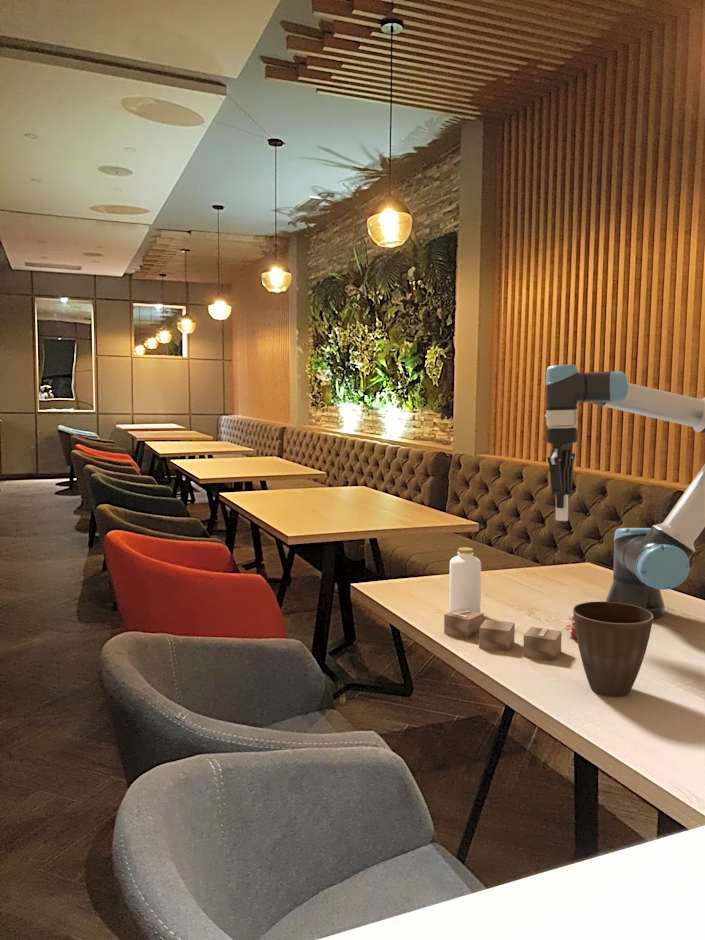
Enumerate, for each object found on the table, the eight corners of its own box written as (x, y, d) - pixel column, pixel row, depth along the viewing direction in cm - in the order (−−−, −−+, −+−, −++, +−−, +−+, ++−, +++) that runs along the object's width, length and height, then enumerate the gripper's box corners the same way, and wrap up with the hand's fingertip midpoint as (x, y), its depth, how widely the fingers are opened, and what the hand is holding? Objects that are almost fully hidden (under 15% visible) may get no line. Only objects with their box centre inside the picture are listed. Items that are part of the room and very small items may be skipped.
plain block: (514, 643, 176) (514, 622, 175) (509, 652, 169) (509, 631, 169) (485, 639, 178) (485, 619, 178) (479, 648, 172) (479, 627, 171)
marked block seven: (483, 632, 183) (483, 612, 183) (468, 639, 178) (468, 619, 177) (459, 627, 188) (459, 607, 187) (444, 634, 182) (444, 613, 182)
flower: (613, 628, 180) (594, 600, 183) (614, 632, 172) (594, 602, 174) (578, 648, 182) (560, 619, 185) (577, 652, 174) (558, 622, 176)
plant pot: (658, 708, 138) (661, 624, 136) (575, 702, 141) (578, 620, 139) (641, 678, 153) (644, 603, 151) (567, 674, 155) (569, 599, 154)
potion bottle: (442, 614, 198) (443, 549, 196) (460, 608, 204) (461, 544, 202) (468, 621, 192) (469, 553, 191) (486, 614, 199) (487, 548, 197)
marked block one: (561, 652, 169) (561, 630, 169) (554, 661, 163) (555, 639, 162) (530, 647, 172) (531, 626, 172) (523, 656, 166) (523, 634, 166)
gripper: (556, 426, 192) (557, 515, 194) (537, 428, 181) (537, 523, 183) (585, 425, 187) (585, 517, 189) (566, 428, 177) (567, 525, 179)
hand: (561, 520), depth 186 cm, fingers closed
